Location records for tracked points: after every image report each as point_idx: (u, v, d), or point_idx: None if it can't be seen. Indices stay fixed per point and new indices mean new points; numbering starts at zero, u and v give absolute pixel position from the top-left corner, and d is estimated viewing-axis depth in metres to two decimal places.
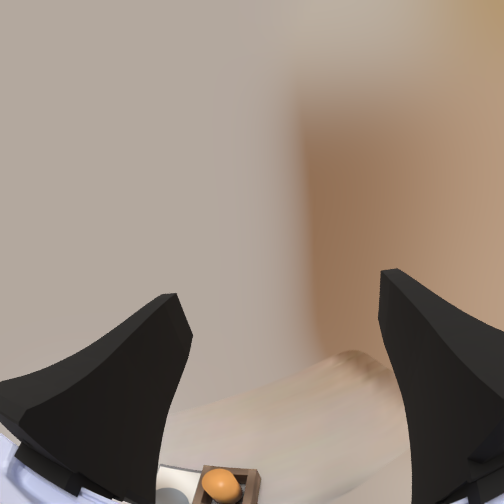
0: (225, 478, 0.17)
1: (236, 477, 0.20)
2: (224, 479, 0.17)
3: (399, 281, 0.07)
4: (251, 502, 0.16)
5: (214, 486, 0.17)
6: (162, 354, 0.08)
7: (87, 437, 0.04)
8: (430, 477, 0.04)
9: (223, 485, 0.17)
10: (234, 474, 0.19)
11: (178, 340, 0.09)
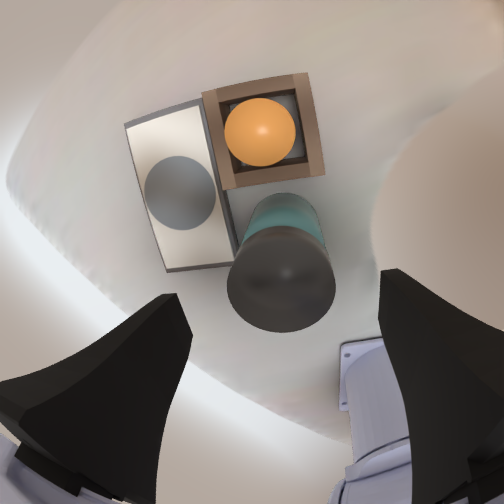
0: (271, 119, 0.10)
1: (269, 93, 0.12)
2: (270, 122, 0.10)
3: (399, 281, 0.07)
4: None
5: (257, 145, 0.11)
6: (162, 354, 0.08)
7: (87, 437, 0.04)
8: (430, 477, 0.04)
9: (273, 137, 0.11)
10: (268, 91, 0.12)
11: (178, 340, 0.09)
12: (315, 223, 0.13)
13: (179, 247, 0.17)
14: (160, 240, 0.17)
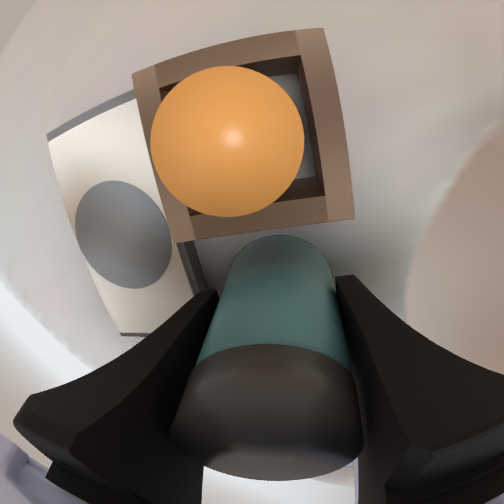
0: (249, 113, 0.04)
1: (253, 68, 0.06)
2: (246, 120, 0.04)
3: (348, 288, 0.08)
4: None
5: (218, 173, 0.05)
6: None
7: (142, 454, 0.04)
8: (366, 493, 0.04)
9: (255, 153, 0.05)
10: (249, 62, 0.06)
11: None
12: (332, 303, 0.08)
13: (130, 309, 0.11)
14: (105, 298, 0.11)
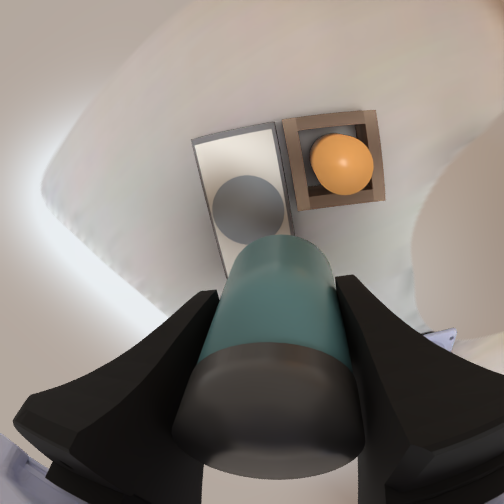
0: (355, 155, 0.12)
1: None
2: (354, 158, 0.12)
3: (348, 288, 0.08)
4: None
5: (341, 177, 0.12)
6: None
7: (141, 453, 0.04)
8: (366, 493, 0.04)
9: (355, 171, 0.12)
10: (341, 124, 0.13)
11: None
12: (332, 302, 0.08)
13: None
14: (225, 253, 0.19)
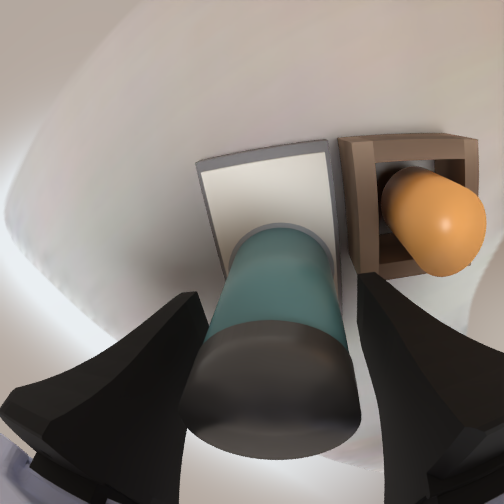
0: (467, 219, 0.06)
1: None
2: (465, 223, 0.06)
3: (373, 285, 0.07)
4: None
5: (445, 252, 0.07)
6: (184, 355, 0.08)
7: (113, 446, 0.04)
8: (397, 486, 0.04)
9: (463, 241, 0.07)
10: (435, 157, 0.08)
11: (199, 340, 0.09)
12: (329, 288, 0.08)
13: None
14: None
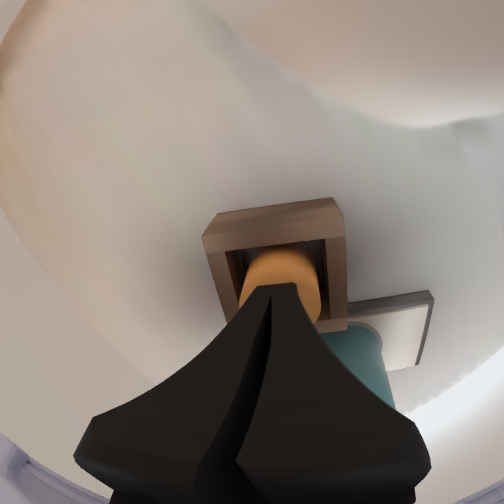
0: None
1: (235, 269, 0.11)
2: None
3: (278, 297, 0.08)
4: (301, 219, 0.10)
5: None
6: None
7: (241, 468, 0.04)
8: None
9: None
10: (231, 278, 0.11)
11: None
12: None
13: (397, 354, 0.14)
14: None
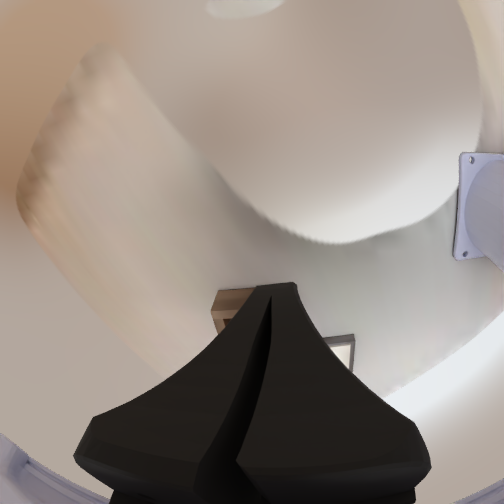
0: None
1: None
2: None
3: (278, 297, 0.08)
4: None
5: None
6: None
7: (240, 468, 0.04)
8: None
9: None
10: None
11: None
12: None
13: None
14: None
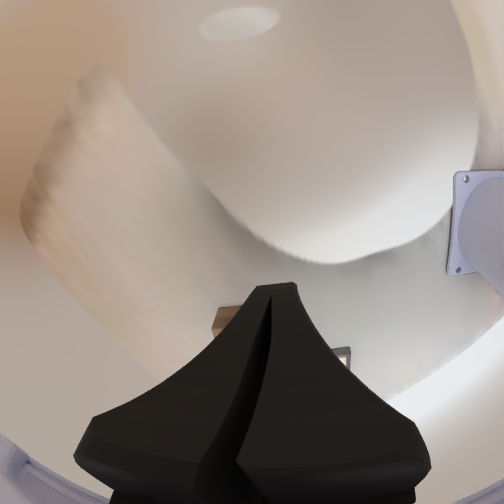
0: None
1: None
2: None
3: (278, 297, 0.08)
4: None
5: None
6: None
7: (241, 468, 0.04)
8: None
9: None
10: None
11: None
12: None
13: None
14: None
